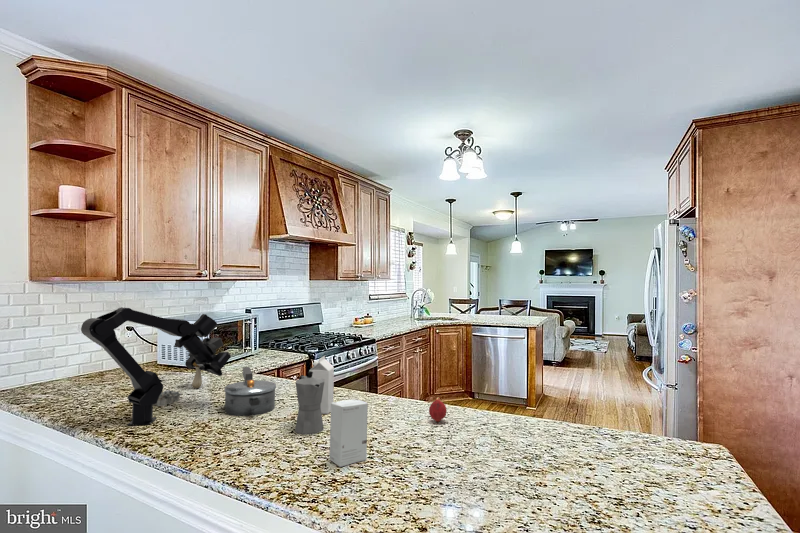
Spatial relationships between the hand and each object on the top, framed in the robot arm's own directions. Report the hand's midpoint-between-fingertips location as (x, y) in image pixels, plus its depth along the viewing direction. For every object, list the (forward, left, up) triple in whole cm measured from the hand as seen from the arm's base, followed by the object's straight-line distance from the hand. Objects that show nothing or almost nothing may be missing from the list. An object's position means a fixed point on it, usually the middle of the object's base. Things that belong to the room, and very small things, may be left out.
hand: (221, 374), depth 164 cm
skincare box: (-60, -44, -11) cm, 75 cm away
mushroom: (+25, +15, -11) cm, 31 cm away
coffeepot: (-34, -33, -11) cm, 49 cm away
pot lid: (-3, -11, -3) cm, 12 cm away
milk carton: (-16, -37, -11) cm, 42 cm away
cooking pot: (-9, -12, -10) cm, 18 cm away
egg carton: (+5, +21, -11) cm, 24 cm away
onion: (-34, -75, -11) cm, 83 cm away
